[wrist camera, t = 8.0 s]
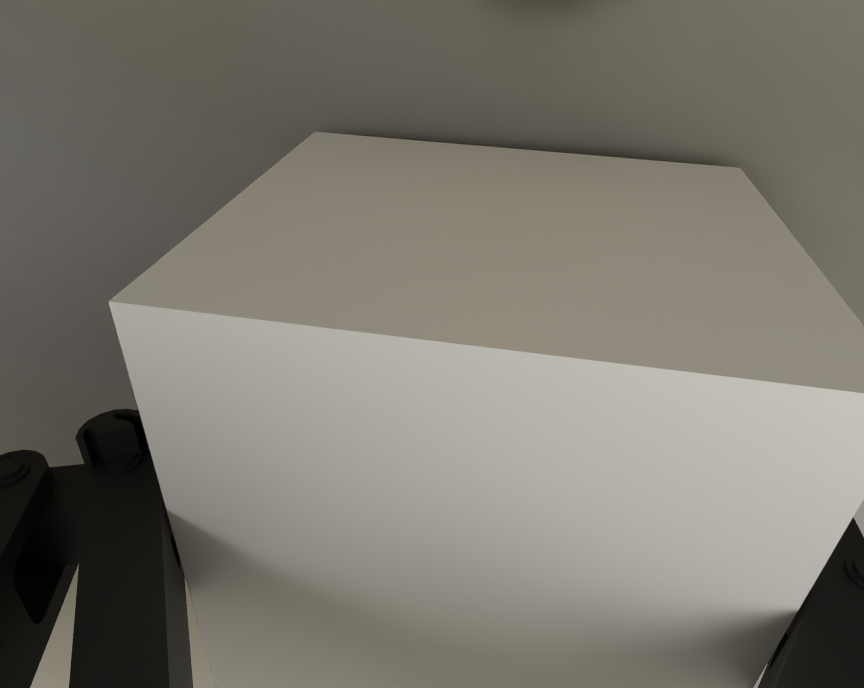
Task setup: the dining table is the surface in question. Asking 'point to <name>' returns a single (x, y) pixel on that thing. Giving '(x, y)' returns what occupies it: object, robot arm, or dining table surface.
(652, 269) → the plain off-white cube
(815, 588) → the robot arm
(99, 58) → the dining table surface
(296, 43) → the dining table surface
